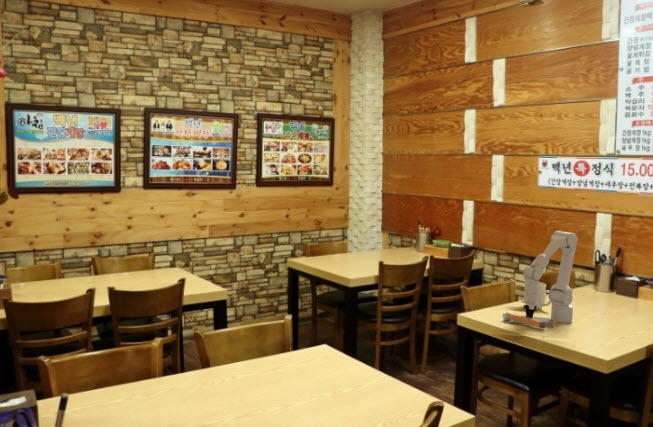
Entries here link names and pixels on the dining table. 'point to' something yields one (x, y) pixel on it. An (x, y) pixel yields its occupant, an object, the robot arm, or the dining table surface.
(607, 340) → the dining table surface
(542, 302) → the white floral mug
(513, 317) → the swing bar
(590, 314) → the dining table surface
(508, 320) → the board
